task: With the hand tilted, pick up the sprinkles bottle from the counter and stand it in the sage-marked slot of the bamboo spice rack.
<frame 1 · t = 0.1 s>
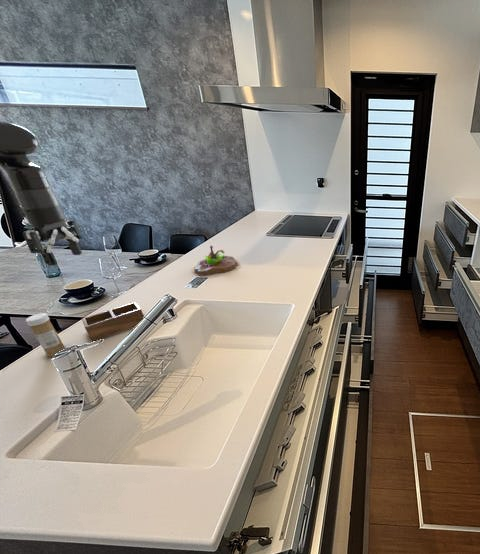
hand: (65, 259, 91), 28 cm above the counter, tool pointing down, fingers open, 8 cm apart
sprinkles bottle: (57, 353, 96), on the counter
spice rack: (118, 328, 108), on the counter
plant: (216, 267, 158), on the counter
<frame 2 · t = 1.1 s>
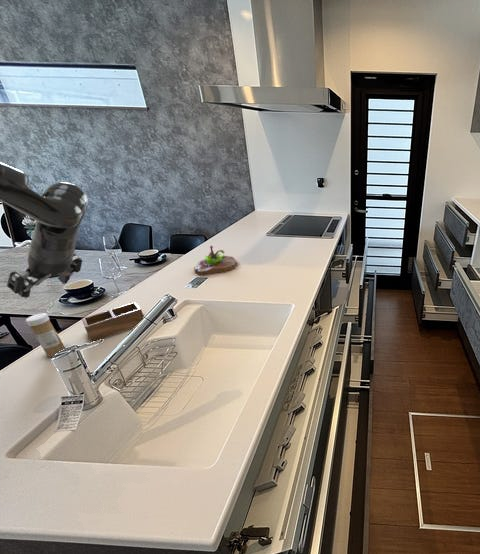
hand: (44, 288, 82), 24 cm above the counter, tool tilted 45°, fingers open, 8 cm apart
nothing on the counter moved.
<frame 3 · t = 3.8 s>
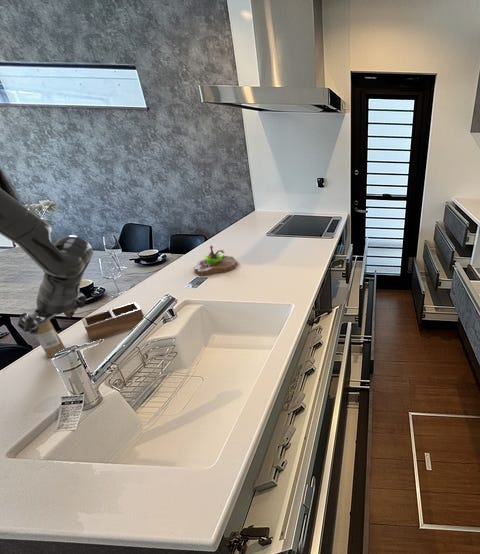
hand: (50, 323, 89), 12 cm above the counter, tool tilted 45°, fingers open, 8 cm apart
nothing on the counter moved.
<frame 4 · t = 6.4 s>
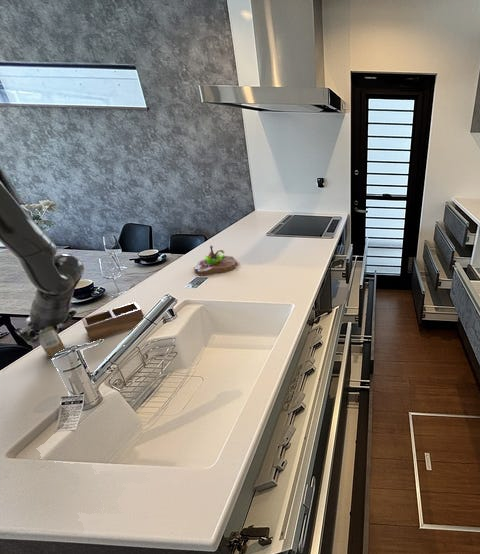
hand: (43, 335, 94), 6 cm above the counter, tool tilted 45°, fingers closed on sprinkles bottle, 4 cm apart
sprinkles bottle: (57, 353, 96), on the counter, touching gripper
everything else where it was.
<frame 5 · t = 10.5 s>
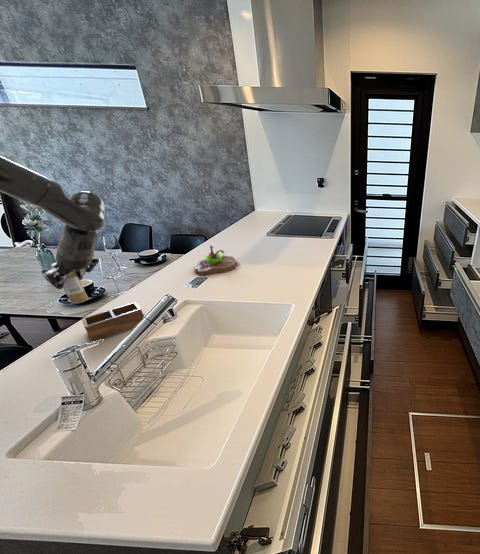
hand: (67, 283, 95), 20 cm above the counter, tool tilted 45°, fingers closed on sprinkles bottle, 4 cm apart
sprinkles bottle: (80, 301, 97), point 14 cm above the counter, touching gripper
everything else where it was.
when the fingers open (7 cm above the counter, at t = 14.7 s): sprinkles bottle stays where it is, resting on spice rack.
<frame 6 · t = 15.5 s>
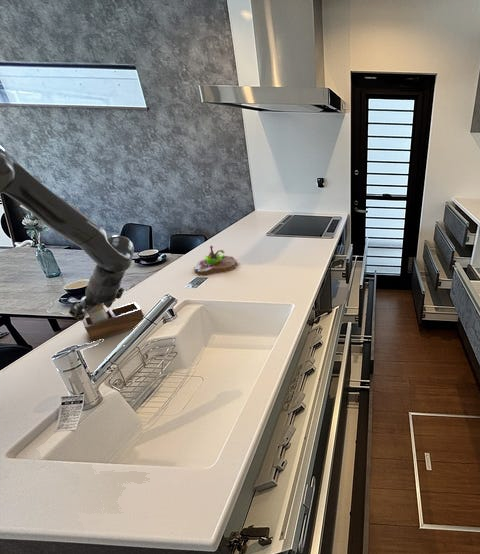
hand: (93, 311, 102), 8 cm above the counter, tool tilted 45°, fingers open, 8 cm apart
sprinkles bottle: (105, 331, 105), point 1 cm above the counter, touching spice rack
everything else where it was.
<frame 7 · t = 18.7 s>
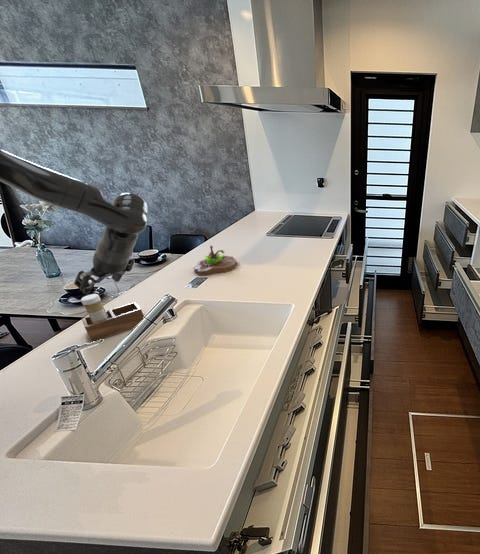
hand: (100, 285, 92), 21 cm above the counter, tool tilted 45°, fingers open, 8 cm apart
nothing on the counter moved.
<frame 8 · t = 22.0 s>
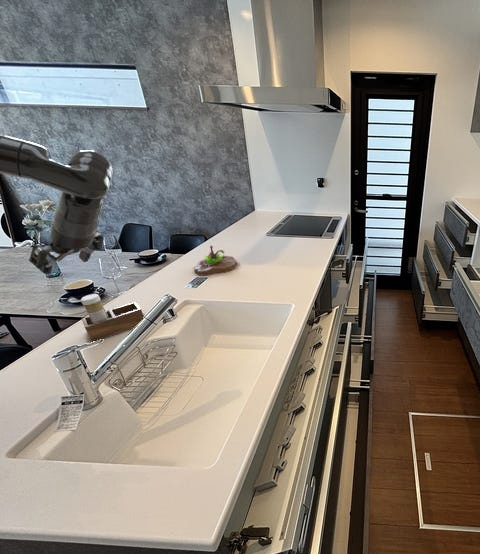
hand: (64, 265, 80), 31 cm above the counter, tool tilted 45°, fingers open, 8 cm apart
nothing on the counter moved.
at the end: sprinkles bottle 0.2 cm from the target spot in the spice rack, point 0.5 cm above the spice rack's base; sprinkles bottle tilted 0°; the gripper is holding nothing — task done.
